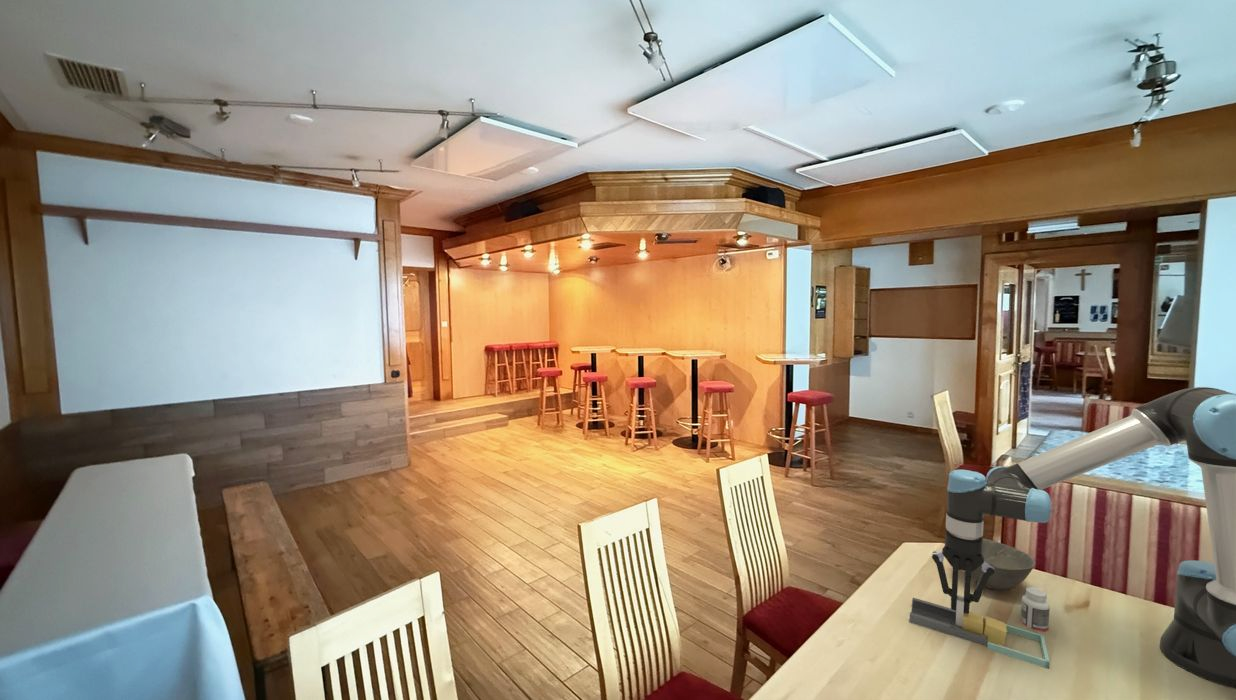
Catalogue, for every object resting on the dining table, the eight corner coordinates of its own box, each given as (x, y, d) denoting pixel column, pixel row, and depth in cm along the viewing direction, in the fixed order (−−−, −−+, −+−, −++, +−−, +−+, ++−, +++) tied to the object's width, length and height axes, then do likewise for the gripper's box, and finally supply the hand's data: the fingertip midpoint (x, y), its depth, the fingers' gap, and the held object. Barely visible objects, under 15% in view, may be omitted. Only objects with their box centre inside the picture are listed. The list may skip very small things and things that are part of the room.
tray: (1042, 644, 117) (1043, 635, 117) (1048, 673, 108) (1049, 662, 108) (985, 627, 124) (986, 618, 123) (987, 653, 115) (987, 643, 114)
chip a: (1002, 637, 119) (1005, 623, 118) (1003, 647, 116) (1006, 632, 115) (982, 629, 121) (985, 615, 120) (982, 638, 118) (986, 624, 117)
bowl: (1050, 597, 136) (1052, 563, 135) (999, 609, 131) (1001, 573, 130) (984, 563, 154) (986, 533, 153) (937, 572, 149) (939, 541, 148)
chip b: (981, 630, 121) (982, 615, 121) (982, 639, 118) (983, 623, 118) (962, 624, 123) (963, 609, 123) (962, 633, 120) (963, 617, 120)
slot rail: (985, 629, 123) (986, 618, 122) (987, 650, 115) (987, 638, 115) (912, 607, 132) (912, 597, 132) (909, 625, 125) (909, 614, 124)
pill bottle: (1051, 629, 123) (1053, 593, 122) (1043, 637, 120) (1046, 600, 119) (1024, 618, 127) (1026, 583, 126) (1016, 626, 124) (1019, 589, 123)
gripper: (996, 534, 119) (991, 624, 121) (933, 521, 127) (929, 606, 129) (997, 546, 113) (992, 641, 115) (931, 532, 121) (927, 621, 123)
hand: (959, 622), depth 122 cm, fingers closed
